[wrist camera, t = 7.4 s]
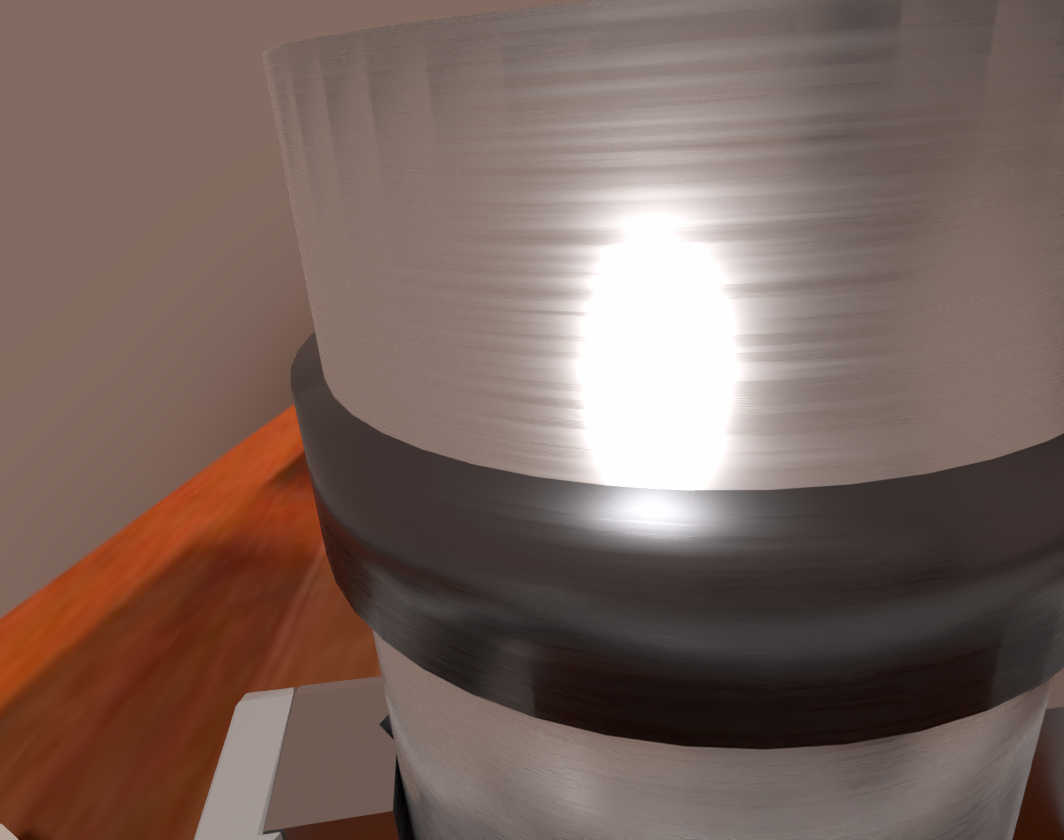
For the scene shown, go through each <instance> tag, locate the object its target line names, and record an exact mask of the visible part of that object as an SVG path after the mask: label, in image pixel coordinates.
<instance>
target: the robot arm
mask: <svg viewBox="0 0 1064 840" xmlns="http://www.w3.org/2000/svg"><path fill="white" fill-rule="evenodd" d="M194 840H413V836H412V830H411V825H410V820H409V815H408V810H407V805H406V799H405V794H404V789H403V784H402V779H401V773H400V768H399V763H398V758H397V753H396V748H395V742H394V737H393V732H392V727H391V722H390V716H389V711H388V706H387V701H386V696H385V691H384V685H383V680H382V676H380V677H372V678H363V679H355V680H346V681H338V682H329V683H321V684H313V685H304V686H300V687H299V688H287V689H279V690H270V691H262V692H254V693H246V694H245V696H244V697H243V698H242V699H241V700H240V702H239V703H238V704H237V706H236V708H235V711H234V714H233V717H232V721H231V724H230V727H229V730H228V733H227V737H226V740H225V743H224V746H223V749H222V752H221V756H220V759H219V762H218V765H217V768H216V771H215V775H214V778H213V781H212V784H211V787H210V790H209V794H208V797H207V800H206V803H205V806H204V809H203V813H202V816H201V819H200V822H199V825H198V829H197V832H196V835H195V838H194ZM1012 840H1064V668H1063V669H1062V670H1061V671H1059V672H1058V673H1057V674H1055V675H1054V679H1053V683H1052V687H1051V691H1050V695H1049V699H1048V702H1047V706H1046V710H1045V714H1044V718H1043V722H1042V726H1041V730H1040V734H1039V737H1038V741H1037V745H1036V749H1035V753H1034V757H1033V761H1032V765H1031V769H1030V772H1029V776H1028V780H1027V784H1026V788H1025V792H1024V796H1023V800H1022V804H1021V808H1020V811H1019V815H1018V819H1017V823H1016V827H1015V831H1014V835H1013V839H1012Z"/></svg>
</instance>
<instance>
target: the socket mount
mask: <svg viewBox="0 0 1064 840" xmlns="http://www.w3.org/2000/svg"><path fill="white" fill-rule="evenodd" d="M0 840H18V839H17V838H16V837H15V836H14V835H13V834H12V833H11V832H10V831H9V830H7V829H6V828H5V827H4V826H3V825H2V824H1V825H0Z"/></svg>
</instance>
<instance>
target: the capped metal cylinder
mask: <svg viewBox="0 0 1064 840" xmlns="http://www.w3.org/2000/svg"><path fill="white" fill-rule="evenodd" d="M262 59H263V64H264V69H265V74H266V79H267V84H268V89H269V95H270V99H271V105H272V111H273V116H274V121H275V126H276V131H277V136H278V142H279V147H280V152H281V157H282V162H283V167H284V173H285V177H286V183H287V188H288V193H289V198H290V203H291V209H292V214H293V219H294V224H295V229H296V235H297V240H298V245H299V250H300V256H301V261H302V266H303V271H304V276H305V281H306V286H307V291H308V297H309V302H310V307H311V312H312V318H313V323H314V328H315V332H314V333H313V334H311V336H310V337H309V338H308V339H307V340H306V342H305V343H304V344H303V346H302V347H301V348H300V349H299V350H298V352H297V355H296V357H295V359H294V362H293V364H292V367H291V389H292V394H293V399H294V404H295V408H296V413H297V418H298V423H299V427H300V432H301V437H302V441H303V446H304V451H305V455H306V460H307V465H308V470H309V474H310V479H311V484H312V488H313V493H314V498H315V502H316V507H317V512H318V517H319V521H320V526H321V531H322V535H323V540H324V545H325V549H326V554H327V557H328V560H329V563H330V566H331V569H332V572H333V575H334V578H335V581H336V583H337V584H338V586H339V588H340V589H341V591H342V592H343V594H344V595H345V597H346V599H347V600H348V602H349V603H350V605H351V606H352V608H353V610H354V611H355V612H356V613H357V614H358V615H359V616H360V617H361V618H362V619H363V620H364V621H365V622H366V623H367V624H368V625H369V626H370V627H371V628H372V629H373V634H374V639H375V644H376V649H377V654H378V660H379V665H380V670H381V675H382V680H383V685H384V691H385V696H386V701H387V706H388V711H389V716H390V722H391V727H392V732H393V737H394V742H395V748H396V753H397V758H398V763H399V768H400V773H401V779H402V784H403V789H404V794H405V799H406V805H407V810H408V815H409V820H410V825H411V830H412V836H413V840H1012V839H1013V835H1014V831H1015V827H1016V823H1017V819H1018V815H1019V811H1020V808H1021V804H1022V800H1023V796H1024V792H1025V788H1026V784H1027V780H1028V776H1029V772H1030V769H1031V765H1032V761H1033V757H1034V753H1035V749H1036V745H1037V741H1038V737H1039V734H1040V730H1041V726H1042V722H1043V718H1044V714H1045V710H1046V706H1047V702H1048V699H1049V695H1050V691H1051V687H1052V683H1053V679H1054V675H1055V674H1057V673H1058V672H1059V671H1061V670H1062V669H1063V668H1064V0H597V1H588V2H579V3H570V4H562V5H553V6H544V7H535V8H526V9H518V10H510V11H500V12H492V13H484V14H477V15H469V16H462V17H453V18H445V19H438V20H430V21H422V22H415V23H408V24H401V25H394V26H387V27H380V28H374V29H366V30H360V31H354V32H348V33H342V34H336V35H330V36H324V37H319V38H313V39H308V40H304V41H298V42H294V43H289V44H285V45H281V46H278V47H275V48H271V49H268V50H266V51H264V52H263V53H262Z"/></svg>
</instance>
